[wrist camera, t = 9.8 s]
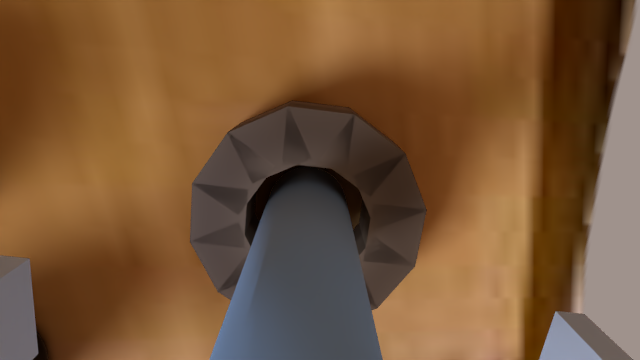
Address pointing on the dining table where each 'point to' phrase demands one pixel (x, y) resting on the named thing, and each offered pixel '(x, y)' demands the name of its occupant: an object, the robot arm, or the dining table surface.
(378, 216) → the bead
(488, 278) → the dining table surface
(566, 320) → the robot arm
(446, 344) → the dining table surface
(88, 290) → the dining table surface
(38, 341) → the supplement bottle
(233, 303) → the round-tipped blue peg
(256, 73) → the dining table surface
